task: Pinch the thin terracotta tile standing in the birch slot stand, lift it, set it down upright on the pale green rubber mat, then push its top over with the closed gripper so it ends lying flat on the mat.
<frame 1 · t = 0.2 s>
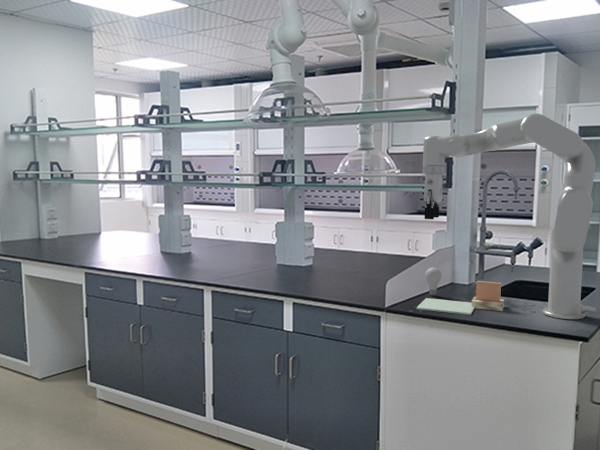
hand: (431, 218, 194), 31 cm above the countertop, tool pointing down, fingers open, 9 cm apart
lightbulb: (432, 296, 206), on the countertop
tile: (488, 294, 188), in the stand
mat: (447, 306, 189), on the countertop
stand: (487, 307, 189), on the countertop
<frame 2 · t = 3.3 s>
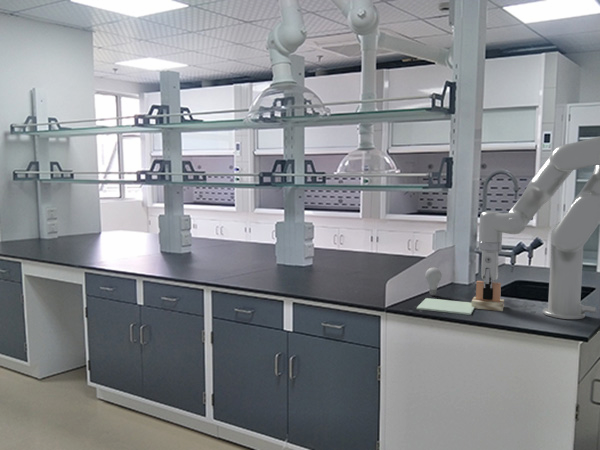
hand: (488, 298, 188), 3 cm above the countertop, tool pointing down, fingers closed on tile, 1 cm apart
tile: (488, 294, 188), in the stand, touching gripper
everything else where it was.
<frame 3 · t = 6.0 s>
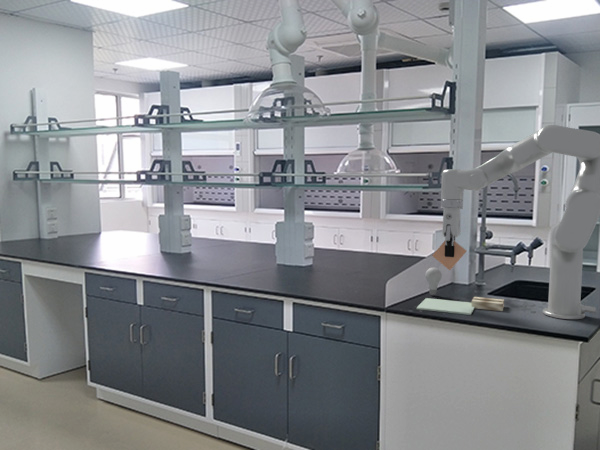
hand: (449, 256, 190), 18 cm above the countertop, tool pointing down, fingers closed on tile, 1 cm apart
tile: (449, 253, 190), point 19 cm above the countertop, tilted 37°, touching gripper
everything else where it was.
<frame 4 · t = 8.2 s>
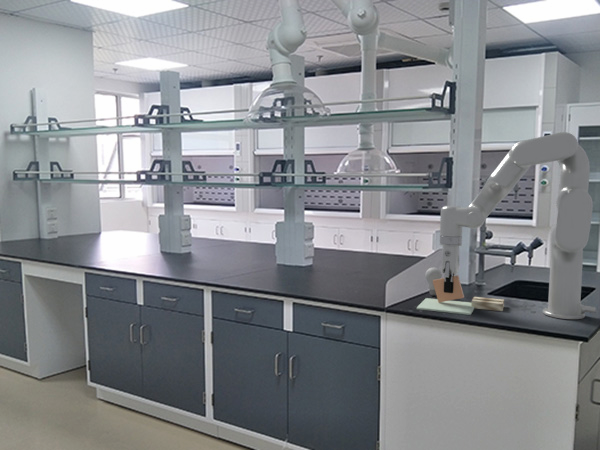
hand: (448, 291, 191), 5 cm above the countertop, tool pointing down, fingers closed on tile, 1 cm apart
tile: (448, 288, 191), point 6 cm above the countertop, tilted 73°, touching gripper
everything else where it was.
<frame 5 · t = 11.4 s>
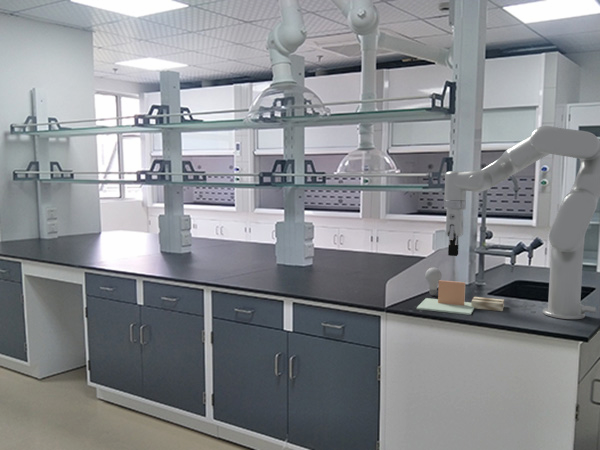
hand: (453, 255, 196), 17 cm above the countertop, tool pointing down, fingers closed
tile: (451, 292, 191), on the mat, point 5 cm above the countertop, tilted 90°
everything else where it was.
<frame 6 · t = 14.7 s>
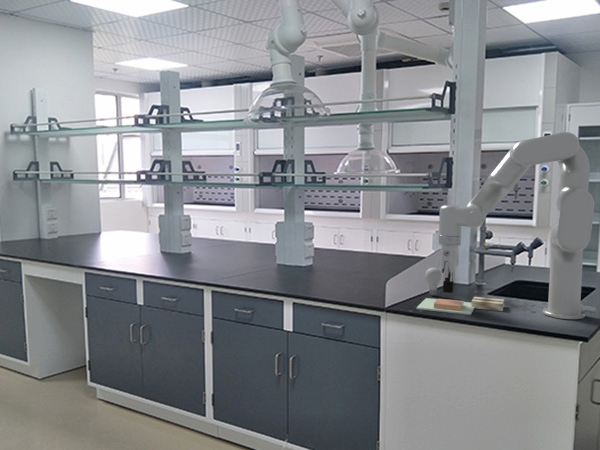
hand: (448, 292, 189), 5 cm above the countertop, tool pointing down, fingers closed
tile: (449, 304, 186), on the mat, point 1 cm above the countertop, tilted 90°
everything else where it was.
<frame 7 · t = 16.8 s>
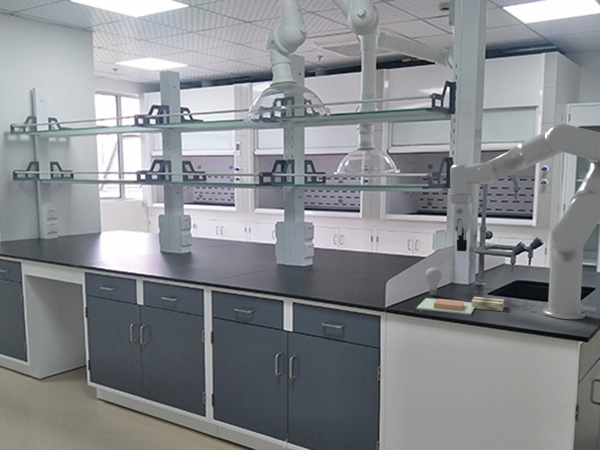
hand: (461, 250, 191), 19 cm above the countertop, tool pointing down, fingers closed
nothing on the countertop moved.
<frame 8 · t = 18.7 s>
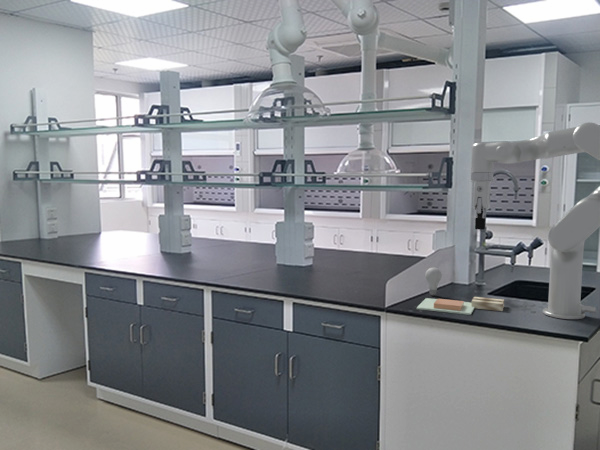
hand: (479, 229, 192), 27 cm above the countertop, tool pointing down, fingers closed
nothing on the countertop moved.
at the end: tile tilted 90°; tile inside the target area on the mat (4.1 cm from its centre), point 1.4 cm above the mat's base; the gripper is holding nothing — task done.
